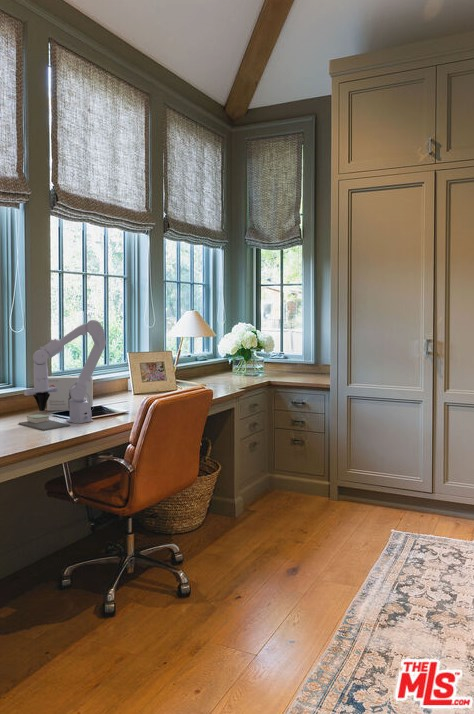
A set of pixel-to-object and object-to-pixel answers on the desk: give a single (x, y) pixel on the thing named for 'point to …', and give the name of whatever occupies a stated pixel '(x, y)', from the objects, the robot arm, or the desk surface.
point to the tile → (37, 418)
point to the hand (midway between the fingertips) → (41, 410)
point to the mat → (44, 425)
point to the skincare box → (65, 392)
